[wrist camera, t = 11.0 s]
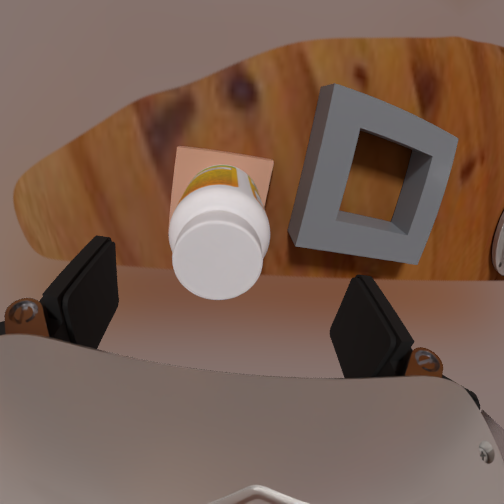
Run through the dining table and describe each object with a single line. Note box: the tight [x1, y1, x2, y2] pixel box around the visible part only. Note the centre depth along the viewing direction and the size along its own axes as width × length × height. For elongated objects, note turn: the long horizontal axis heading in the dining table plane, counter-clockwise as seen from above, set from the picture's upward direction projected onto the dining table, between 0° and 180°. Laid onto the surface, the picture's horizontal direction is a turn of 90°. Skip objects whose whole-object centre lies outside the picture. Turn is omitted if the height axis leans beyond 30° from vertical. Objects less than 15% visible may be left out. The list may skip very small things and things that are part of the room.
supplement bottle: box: [169, 165, 270, 300], centre depth 17 cm, size 5×5×10 cm
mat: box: [168, 146, 274, 236], centre depth 21 cm, size 7×7×1 cm
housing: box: [288, 84, 458, 265], centre depth 21 cm, size 12×12×3 cm
